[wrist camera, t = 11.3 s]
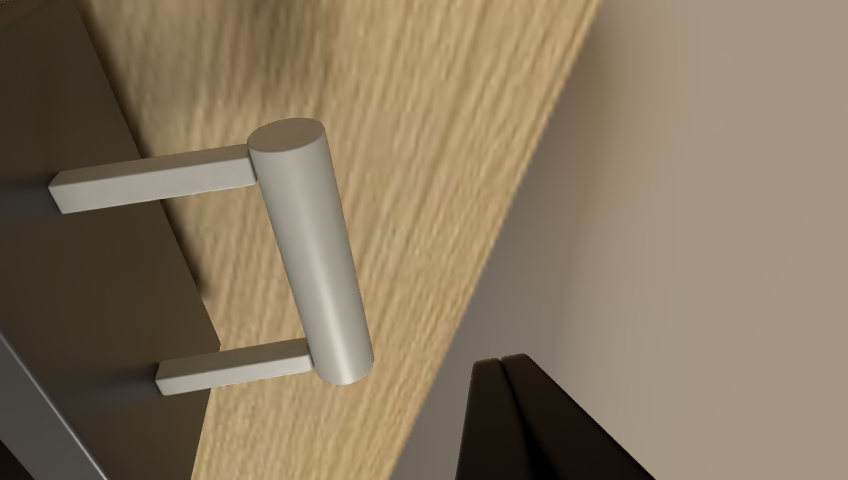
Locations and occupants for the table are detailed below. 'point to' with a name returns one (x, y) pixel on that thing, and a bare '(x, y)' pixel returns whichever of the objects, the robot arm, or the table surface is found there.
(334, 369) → the pull-out drawer
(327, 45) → the table surface
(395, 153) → the table surface
